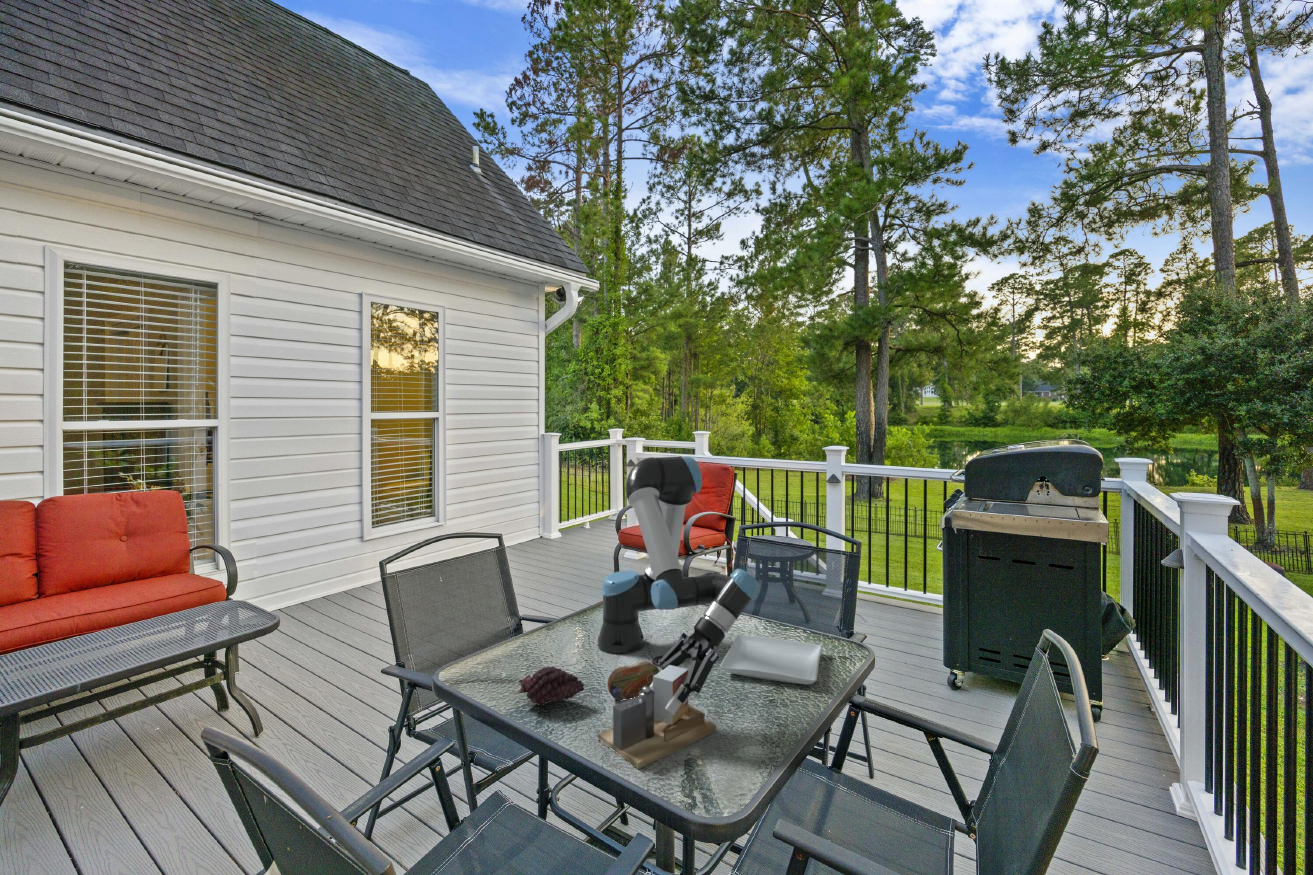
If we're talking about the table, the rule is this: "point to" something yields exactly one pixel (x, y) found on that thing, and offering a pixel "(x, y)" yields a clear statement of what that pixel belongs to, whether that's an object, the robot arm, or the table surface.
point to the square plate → (773, 659)
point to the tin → (631, 680)
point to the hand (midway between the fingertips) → (659, 703)
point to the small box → (668, 693)
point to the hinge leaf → (634, 720)
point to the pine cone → (550, 685)
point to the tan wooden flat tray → (664, 738)
